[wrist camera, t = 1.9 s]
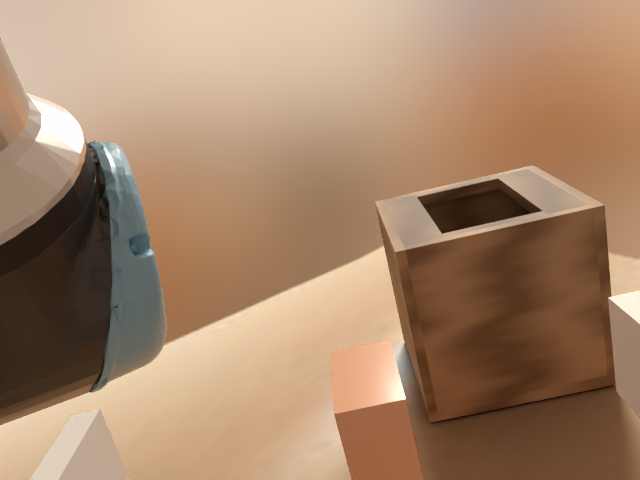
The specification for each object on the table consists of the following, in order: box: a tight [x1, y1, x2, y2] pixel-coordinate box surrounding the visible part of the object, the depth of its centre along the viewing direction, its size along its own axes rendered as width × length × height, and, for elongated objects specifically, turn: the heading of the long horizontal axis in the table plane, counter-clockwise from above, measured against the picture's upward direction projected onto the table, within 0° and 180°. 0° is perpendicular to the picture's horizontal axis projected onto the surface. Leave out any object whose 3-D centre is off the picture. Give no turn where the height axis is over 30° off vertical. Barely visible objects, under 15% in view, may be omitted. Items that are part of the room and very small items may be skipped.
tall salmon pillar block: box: [330, 339, 423, 480], centre depth 28 cm, size 3×5×10 cm, turn 0°
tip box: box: [375, 165, 616, 423], centre depth 40 cm, size 12×11×12 cm
